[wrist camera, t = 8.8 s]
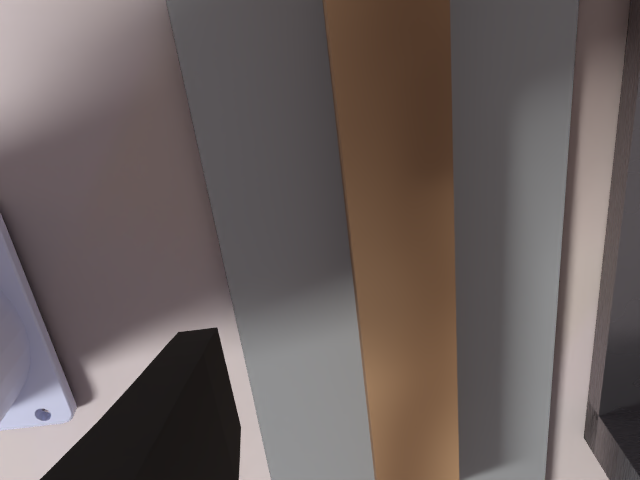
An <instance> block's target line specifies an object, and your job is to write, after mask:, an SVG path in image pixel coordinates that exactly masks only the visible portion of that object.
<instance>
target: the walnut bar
mask: <svg viewBox="0 0 640 480" xmlns="http://www.w3.org/2000/svg"><path fill="white" fill-rule="evenodd" d="M322 1H323V10H324V19H325V29H326V38H327V47H328V56H329V65H330V74H331V83H332V93H333V102H334V111H335V120H336V129H337V138H338V147H339V157H340V166H341V175H342V184H343V193H344V202H345V212H346V221H347V230H348V239H349V248H350V257H351V266H352V276H353V285H354V294H355V303H356V312H357V321H358V330H359V340H360V349H361V358H362V367H363V376H364V385H365V395H366V404H367V413H368V422H369V431H370V440H371V449H372V459H373V468H374V477H375V480H459V437H458V386H457V335H456V283H455V232H454V181H453V130H452V78H451V27H450V0H322Z"/></svg>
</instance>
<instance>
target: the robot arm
mask: <svg viewBox="0 0 640 480" xmlns="http://www.w3.org/2000/svg"><path fill="white" fill-rule="evenodd" d="M42 409H46V410H48V411H49V412H45V411H43V410H42ZM76 409H77V407H76V402H75V400H74V397H73V395H72V392H71V390H70V387H69V385H68V382H67V380H66V377H65V375H64V372H63V370H62V367H61V365H60V362H59V359H58V357H57V354H56V352H55V349H54V347H53V344H52V342H51V339H50V337H49V334H48V332H47V329H46V327H45V324H44V322H43V319H42V316H41V314H40V311H39V309H38V306H37V304H36V301H35V299H34V296H33V294H32V291H31V289H30V286H29V284H28V281H27V279H26V276H25V273H24V271H23V268H22V266H21V263H20V261H19V258H18V256H17V253H16V251H15V248H14V246H13V243H12V241H11V238H10V235H9V233H8V230H7V228H6V225H5V223H4V220H3V218H2V215H1V213H0V431H1V430H10V429H18V428H27V427H36V426H45V425H53V424H62V423H66V422H69V421H70V420H71V419H72V418H73V416H74V414H75V412H76ZM240 437H241V426H240V421H239V417H238V413H237V409H236V405H235V401H234V396H233V392H232V388H231V384H230V380H229V375H228V371H227V367H226V363H225V359H224V354H223V350H222V346H221V342H220V338H219V333H218V329H217V328H209V329H201V330H193V331H184V332H178V333H177V335H176V336H175V337H174V338H173V339H172V340H171V341H170V342H169V343H168V344H167V345H166V346H165V347H164V349H163V350H162V351H161V352H160V353H159V354H158V355H157V356H156V358H155V359H154V360H153V361H152V362H151V363H150V364H149V366H148V367H147V368H146V369H145V370H144V371H143V372H142V374H141V375H140V376H139V377H138V378H137V379H136V380H135V381H134V383H133V384H132V385H131V386H130V387H129V388H128V389H127V390H126V391H125V392H124V394H123V395H122V396H121V397H120V398H119V399H118V400H117V401H116V402H115V403H114V405H113V406H112V407H111V408H110V409H109V410H108V411H107V412H106V413H105V414H104V415H103V417H102V418H101V419H100V420H99V421H98V422H97V423H96V424H95V425H94V426H93V427H92V428H91V429H90V430H89V431H88V432H87V433H86V434H85V435H84V436H83V437H82V438H81V439H80V440H79V441H78V442H77V443H76V444H75V445H74V446H73V447H72V448H71V449H70V450H69V451H68V452H67V453H66V454H65V455H64V456H63V457H62V458H61V459H60V460H59V461H58V462H57V463H56V464H55V465H54V466H53V467H52V468H51V469H50V470H49V471H48V472H47V473H46V474H45V475H44V476H43V477H42V478H41V479H40V480H239V463H240Z"/></svg>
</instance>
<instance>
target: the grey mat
mask: <svg viewBox="0 0 640 480" xmlns="http://www.w3.org/2000/svg"><path fill="white" fill-rule="evenodd" d="M166 3H167V8H168V13H169V17H170V22H171V26H172V31H173V35H174V40H175V44H176V49H177V54H178V58H179V63H180V67H181V72H182V76H183V81H184V85H185V90H186V94H187V99H188V104H189V108H190V113H191V117H192V122H193V126H194V131H195V135H196V140H197V145H198V149H199V154H200V158H201V163H202V167H203V172H204V176H205V181H206V185H207V190H208V195H209V199H210V204H211V208H212V213H213V217H214V222H215V226H216V231H217V236H218V240H219V245H220V249H221V254H222V258H223V263H224V267H225V272H226V276H227V281H228V286H229V290H230V295H231V299H232V304H233V308H234V313H235V317H236V322H237V327H238V331H239V336H240V340H241V345H242V349H243V354H244V358H245V363H246V367H247V372H248V377H249V381H250V386H251V390H252V395H253V399H254V404H255V408H256V413H257V418H258V422H259V427H260V431H261V436H262V440H263V445H264V449H265V454H266V458H267V463H268V468H269V472H270V477H271V480H375V477H374V468H373V459H372V449H371V440H370V431H369V422H368V413H367V404H366V395H365V385H364V376H363V367H362V358H361V349H360V340H359V330H358V321H357V312H356V303H355V294H354V285H353V276H352V266H351V257H350V248H349V239H348V230H347V221H346V212H345V202H344V193H343V184H342V175H341V166H340V157H339V147H338V138H337V129H336V120H335V111H334V102H333V93H332V83H331V74H330V65H329V56H328V47H327V38H326V29H325V19H324V10H323V1H322V0H166ZM578 8H579V0H450V27H451V78H452V130H453V181H454V232H455V283H456V335H457V386H458V437H459V480H545V472H546V458H547V444H548V430H549V416H550V402H551V388H552V374H553V360H554V346H555V332H556V317H557V303H558V289H559V275H560V261H561V247H562V233H563V219H564V205H565V191H566V177H567V163H568V149H569V135H570V120H571V106H572V92H573V78H574V64H575V50H576V36H577V22H578Z"/></svg>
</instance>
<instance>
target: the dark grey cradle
mask: <svg viewBox="0 0 640 480" xmlns="http://www.w3.org/2000/svg"><path fill="white" fill-rule="evenodd" d="M584 439H585V440H586V442H587V444H588V445H589V447H590V449H591V450H592V452H593V454H594V455H595V457H596V458H597V460H598V462H599V463H600V465H601V467H602V468H603V470H604V472H605V473H606V475H607V477H608V478H609V480H640V0H631V4H630V13H629V22H628V31H627V41H626V50H625V59H624V69H623V78H622V87H621V97H620V106H619V115H618V124H617V134H616V143H615V152H614V162H613V171H612V180H611V190H610V199H609V208H608V217H607V227H606V236H605V245H604V255H603V264H602V273H601V283H600V292H599V301H598V310H597V320H596V329H595V338H594V348H593V357H592V366H591V376H590V385H589V394H588V403H587V413H586V422H585V431H584Z"/></svg>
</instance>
